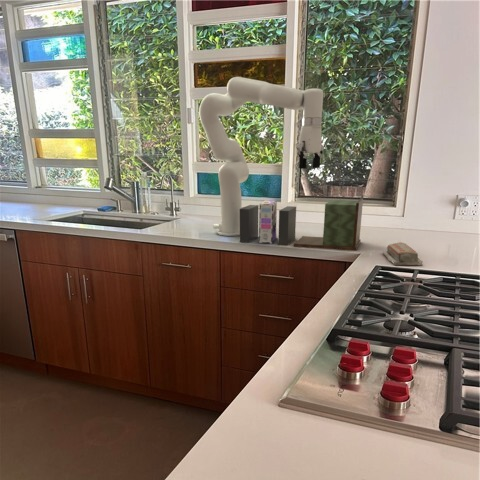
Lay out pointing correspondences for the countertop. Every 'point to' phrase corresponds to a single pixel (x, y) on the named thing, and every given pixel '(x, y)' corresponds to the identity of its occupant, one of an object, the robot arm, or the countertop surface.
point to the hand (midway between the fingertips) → (309, 168)
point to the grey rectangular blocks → (251, 224)
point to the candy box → (267, 221)
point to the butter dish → (402, 254)
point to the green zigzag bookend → (338, 227)
